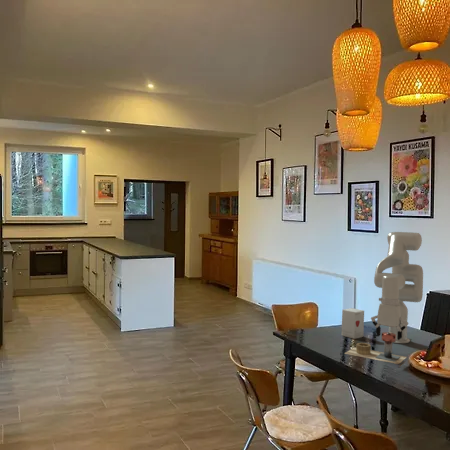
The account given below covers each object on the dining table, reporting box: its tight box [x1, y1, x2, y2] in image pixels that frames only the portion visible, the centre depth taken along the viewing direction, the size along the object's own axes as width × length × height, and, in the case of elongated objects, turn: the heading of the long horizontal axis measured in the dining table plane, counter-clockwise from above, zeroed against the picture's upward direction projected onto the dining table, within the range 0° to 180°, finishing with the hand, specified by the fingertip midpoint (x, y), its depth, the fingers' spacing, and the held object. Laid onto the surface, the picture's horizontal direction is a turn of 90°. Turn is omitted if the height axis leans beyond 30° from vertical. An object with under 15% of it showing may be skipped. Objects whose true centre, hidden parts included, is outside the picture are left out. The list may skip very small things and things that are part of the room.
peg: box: [381, 331, 396, 358], centre depth 235 cm, size 6×6×11 cm
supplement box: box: [341, 307, 365, 340], centre depth 279 cm, size 9×9×15 cm
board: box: [344, 342, 408, 368], centre depth 238 cm, size 14×26×6 cm, turn 55°
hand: (388, 337), depth 234 cm, fingers open, 9 cm apart
